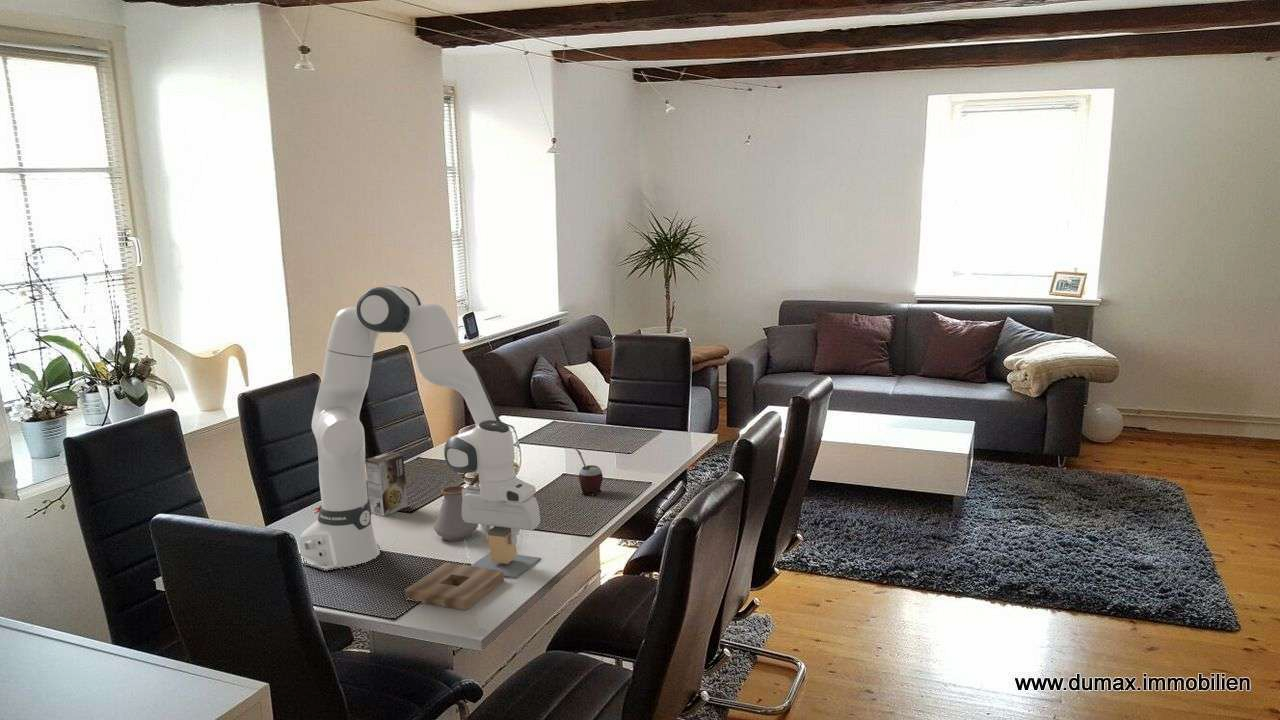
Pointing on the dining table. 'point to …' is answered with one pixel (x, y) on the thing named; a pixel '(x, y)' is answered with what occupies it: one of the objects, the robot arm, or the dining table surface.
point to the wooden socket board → (443, 593)
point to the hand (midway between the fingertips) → (502, 542)
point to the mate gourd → (589, 477)
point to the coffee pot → (453, 515)
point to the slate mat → (508, 565)
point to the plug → (501, 545)
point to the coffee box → (386, 483)
